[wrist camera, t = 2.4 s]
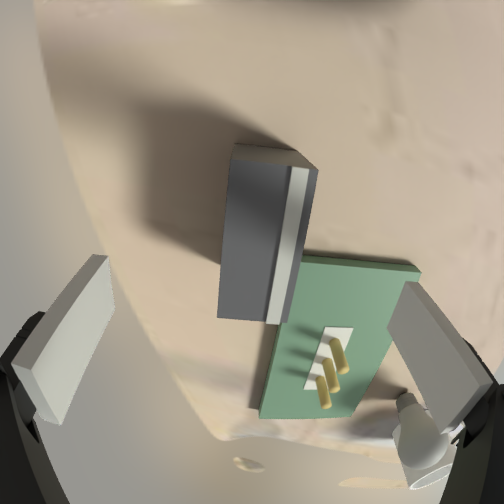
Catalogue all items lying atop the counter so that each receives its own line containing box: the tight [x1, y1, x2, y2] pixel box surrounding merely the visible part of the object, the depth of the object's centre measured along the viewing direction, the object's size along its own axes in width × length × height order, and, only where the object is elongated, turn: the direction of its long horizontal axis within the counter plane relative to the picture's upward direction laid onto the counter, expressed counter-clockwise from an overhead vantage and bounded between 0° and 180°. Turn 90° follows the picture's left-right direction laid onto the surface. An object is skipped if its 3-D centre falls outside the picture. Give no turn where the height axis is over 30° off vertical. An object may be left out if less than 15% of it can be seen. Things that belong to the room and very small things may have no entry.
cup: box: [392, 410, 465, 490], centre depth 32 cm, size 8×12×10 cm
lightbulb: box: [396, 393, 449, 469], centre depth 28 cm, size 6×6×11 cm
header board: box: [259, 255, 421, 419], centre depth 26 cm, size 20×11×5 cm, turn 173°
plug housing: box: [217, 144, 318, 325], centre depth 19 cm, size 9×4×6 cm, turn 173°
